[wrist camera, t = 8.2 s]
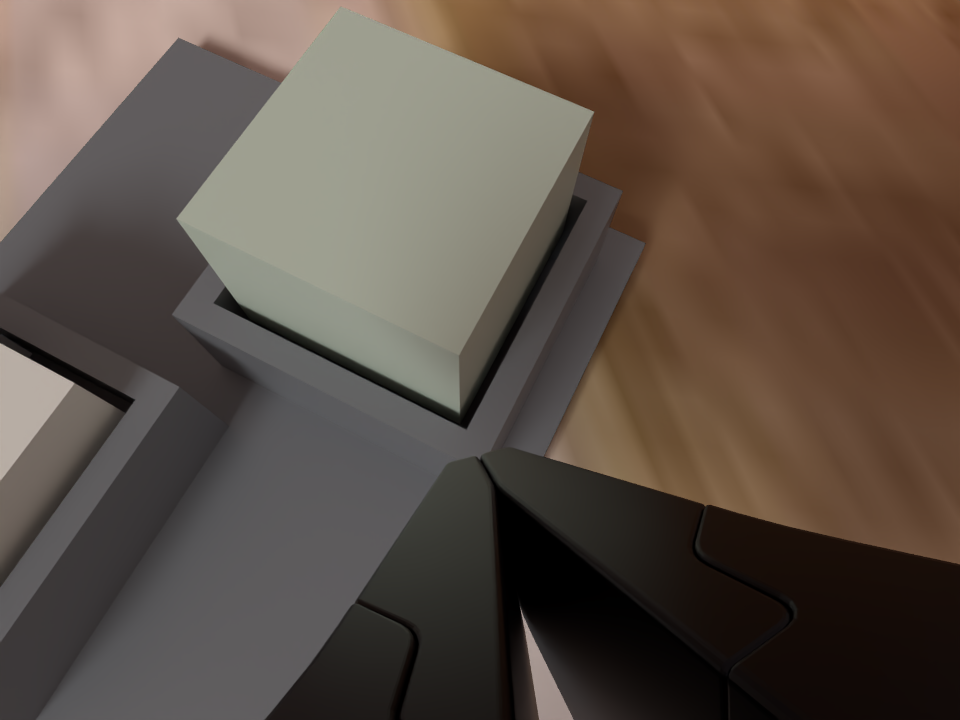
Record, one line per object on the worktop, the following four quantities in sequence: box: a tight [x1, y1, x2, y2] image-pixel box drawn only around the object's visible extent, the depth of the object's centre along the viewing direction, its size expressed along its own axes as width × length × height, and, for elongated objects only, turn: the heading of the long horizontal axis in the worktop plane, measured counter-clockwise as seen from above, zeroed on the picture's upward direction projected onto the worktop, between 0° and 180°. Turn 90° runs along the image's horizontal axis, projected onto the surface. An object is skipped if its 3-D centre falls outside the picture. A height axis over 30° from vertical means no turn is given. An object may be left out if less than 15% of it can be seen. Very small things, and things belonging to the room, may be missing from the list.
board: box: [0, 38, 646, 720], centre depth 20 cm, size 20×23×5 cm
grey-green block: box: [176, 7, 594, 424], centre depth 18 cm, size 7×7×6 cm
